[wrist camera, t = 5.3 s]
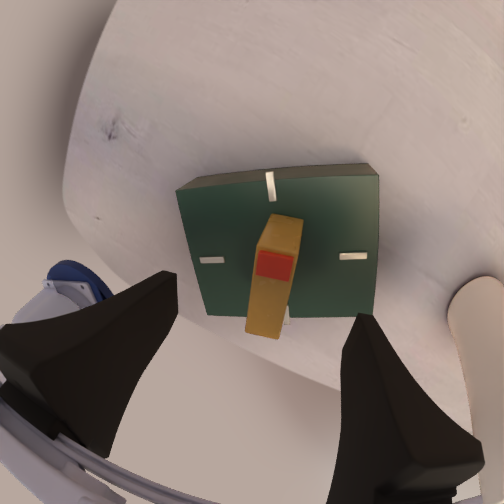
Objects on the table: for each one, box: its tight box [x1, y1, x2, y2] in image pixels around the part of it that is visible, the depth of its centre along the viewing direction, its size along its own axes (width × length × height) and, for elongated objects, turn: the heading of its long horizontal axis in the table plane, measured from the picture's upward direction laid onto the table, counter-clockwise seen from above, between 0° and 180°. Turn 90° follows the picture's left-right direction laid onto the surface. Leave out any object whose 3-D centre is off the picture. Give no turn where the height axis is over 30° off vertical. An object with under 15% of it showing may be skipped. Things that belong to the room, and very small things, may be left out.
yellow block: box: [245, 214, 304, 339], centre depth 13 cm, size 5×2×4 cm, turn 173°
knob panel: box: [176, 164, 379, 325], centre depth 16 cm, size 10×9×3 cm
